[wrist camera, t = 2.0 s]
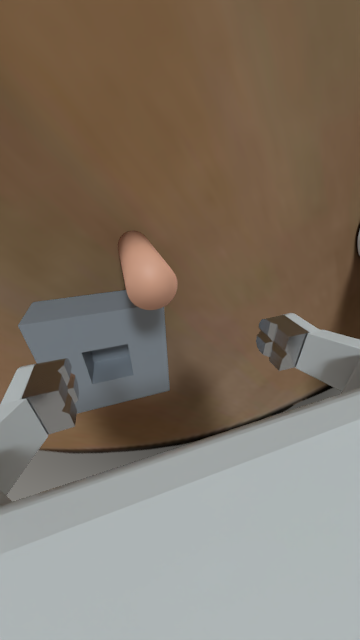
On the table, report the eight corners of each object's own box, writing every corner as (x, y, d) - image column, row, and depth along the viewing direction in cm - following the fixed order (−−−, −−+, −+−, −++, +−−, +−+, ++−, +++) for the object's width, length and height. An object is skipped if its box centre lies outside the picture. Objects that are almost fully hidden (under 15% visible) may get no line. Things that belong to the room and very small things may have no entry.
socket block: (155, 286, 28) (163, 303, 23) (162, 366, 35) (169, 390, 31) (32, 302, 24) (17, 325, 20) (69, 387, 32) (63, 416, 28)
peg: (147, 229, 24) (176, 258, 14) (150, 261, 26) (178, 306, 16) (115, 232, 23) (122, 264, 13) (120, 264, 25) (130, 313, 15)
